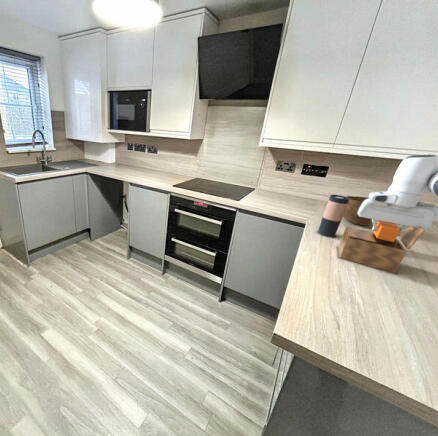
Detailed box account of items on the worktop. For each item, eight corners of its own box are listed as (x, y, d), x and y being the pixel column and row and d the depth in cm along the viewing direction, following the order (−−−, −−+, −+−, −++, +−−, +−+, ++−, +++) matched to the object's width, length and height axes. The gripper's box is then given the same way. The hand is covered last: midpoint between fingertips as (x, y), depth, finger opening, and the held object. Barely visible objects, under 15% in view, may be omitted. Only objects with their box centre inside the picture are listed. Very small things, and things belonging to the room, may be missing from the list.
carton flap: (398, 237, 95) (399, 238, 95) (407, 249, 85) (408, 249, 85) (413, 220, 91) (414, 220, 91) (423, 229, 81) (425, 230, 81)
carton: (388, 259, 99) (399, 237, 95) (395, 273, 89) (407, 249, 85) (338, 246, 108) (346, 226, 104) (339, 257, 97) (348, 235, 94)
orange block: (389, 235, 94) (395, 224, 93) (394, 242, 88) (400, 230, 86) (373, 231, 97) (378, 220, 95) (376, 238, 91) (382, 226, 89)
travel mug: (316, 229, 126) (328, 193, 118) (333, 233, 123) (347, 196, 116) (318, 234, 119) (332, 197, 112) (336, 238, 116) (352, 200, 109)
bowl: (360, 230, 129) (371, 204, 123) (329, 218, 146) (337, 195, 140) (385, 229, 133) (397, 204, 127) (352, 217, 150) (362, 195, 145)
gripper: (438, 203, 84) (419, 238, 89) (364, 192, 95) (351, 223, 100) (445, 207, 79) (425, 243, 84) (367, 195, 90) (353, 227, 95)
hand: (384, 232), depth 92 cm, fingers closed on orange block, 5 cm apart
